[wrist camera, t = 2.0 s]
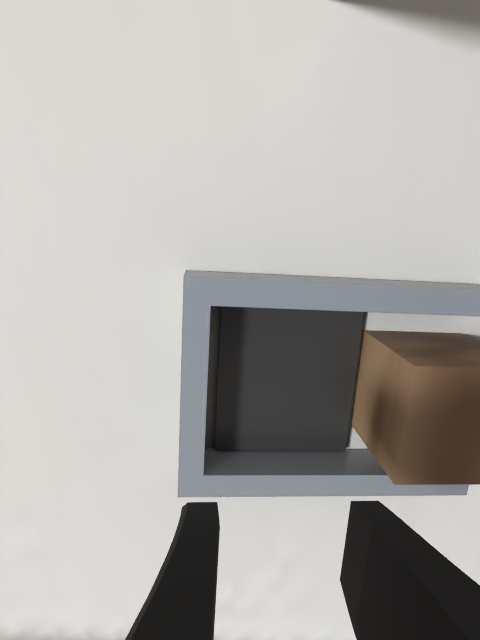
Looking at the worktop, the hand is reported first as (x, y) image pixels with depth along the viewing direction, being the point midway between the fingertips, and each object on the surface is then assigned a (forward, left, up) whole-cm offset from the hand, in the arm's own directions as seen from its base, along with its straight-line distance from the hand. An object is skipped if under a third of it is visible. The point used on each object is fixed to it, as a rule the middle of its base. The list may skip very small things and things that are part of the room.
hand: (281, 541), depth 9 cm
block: (-4, -7, -10) cm, 12 cm away
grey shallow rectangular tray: (-2, -4, -9) cm, 10 cm away
